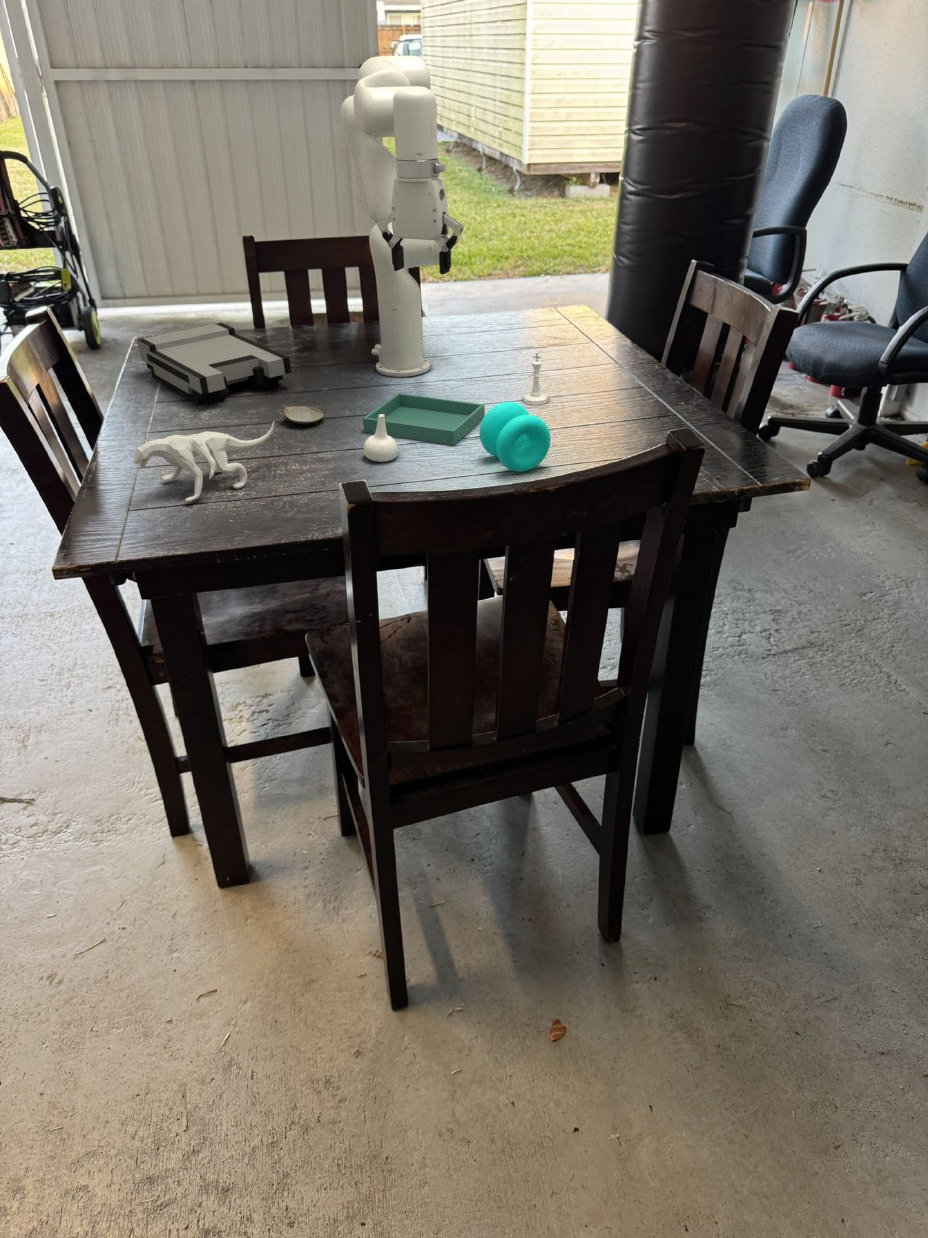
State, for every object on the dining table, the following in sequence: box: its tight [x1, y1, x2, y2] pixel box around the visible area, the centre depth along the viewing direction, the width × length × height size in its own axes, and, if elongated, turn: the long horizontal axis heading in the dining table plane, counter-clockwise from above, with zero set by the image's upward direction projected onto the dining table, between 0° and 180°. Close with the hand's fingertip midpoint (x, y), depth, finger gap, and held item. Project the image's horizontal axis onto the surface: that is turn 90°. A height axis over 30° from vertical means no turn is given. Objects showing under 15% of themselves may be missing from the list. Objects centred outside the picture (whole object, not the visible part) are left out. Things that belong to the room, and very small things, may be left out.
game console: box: [136, 322, 292, 405], centre depth 188 cm, size 21×32×8 cm, turn 40°
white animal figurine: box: [132, 420, 275, 503], centre depth 142 cm, size 12×25×10 cm, turn 126°
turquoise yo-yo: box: [479, 401, 551, 473], centre depth 147 cm, size 10×10×10 cm
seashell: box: [279, 405, 324, 425], centre depth 168 cm, size 8×3×8 cm
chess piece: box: [523, 352, 548, 406], centre depth 174 cm, size 5×5×10 cm
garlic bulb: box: [363, 414, 399, 463], centre depth 151 cm, size 6×6×8 cm
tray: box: [362, 392, 486, 446], centre depth 165 cm, size 19×15×3 cm
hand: (421, 270), depth 161 cm, fingers open, 9 cm apart
